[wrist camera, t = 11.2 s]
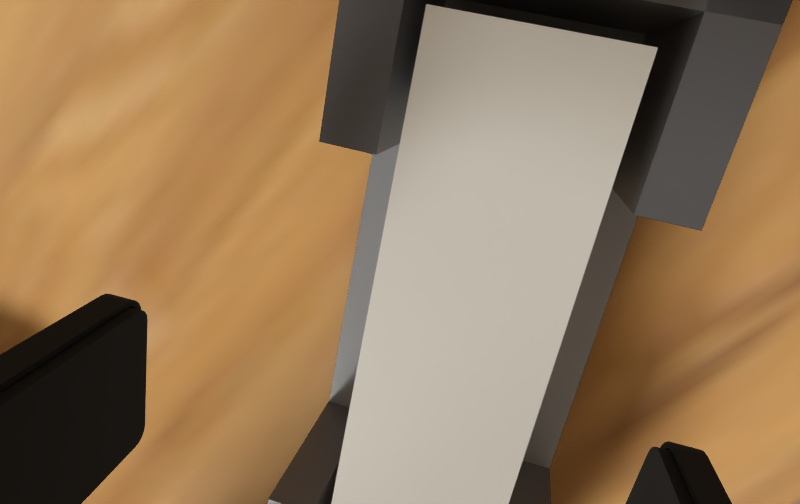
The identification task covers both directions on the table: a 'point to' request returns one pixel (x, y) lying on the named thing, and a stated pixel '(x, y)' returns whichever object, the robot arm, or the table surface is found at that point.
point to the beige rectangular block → (482, 252)
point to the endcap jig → (630, 196)
